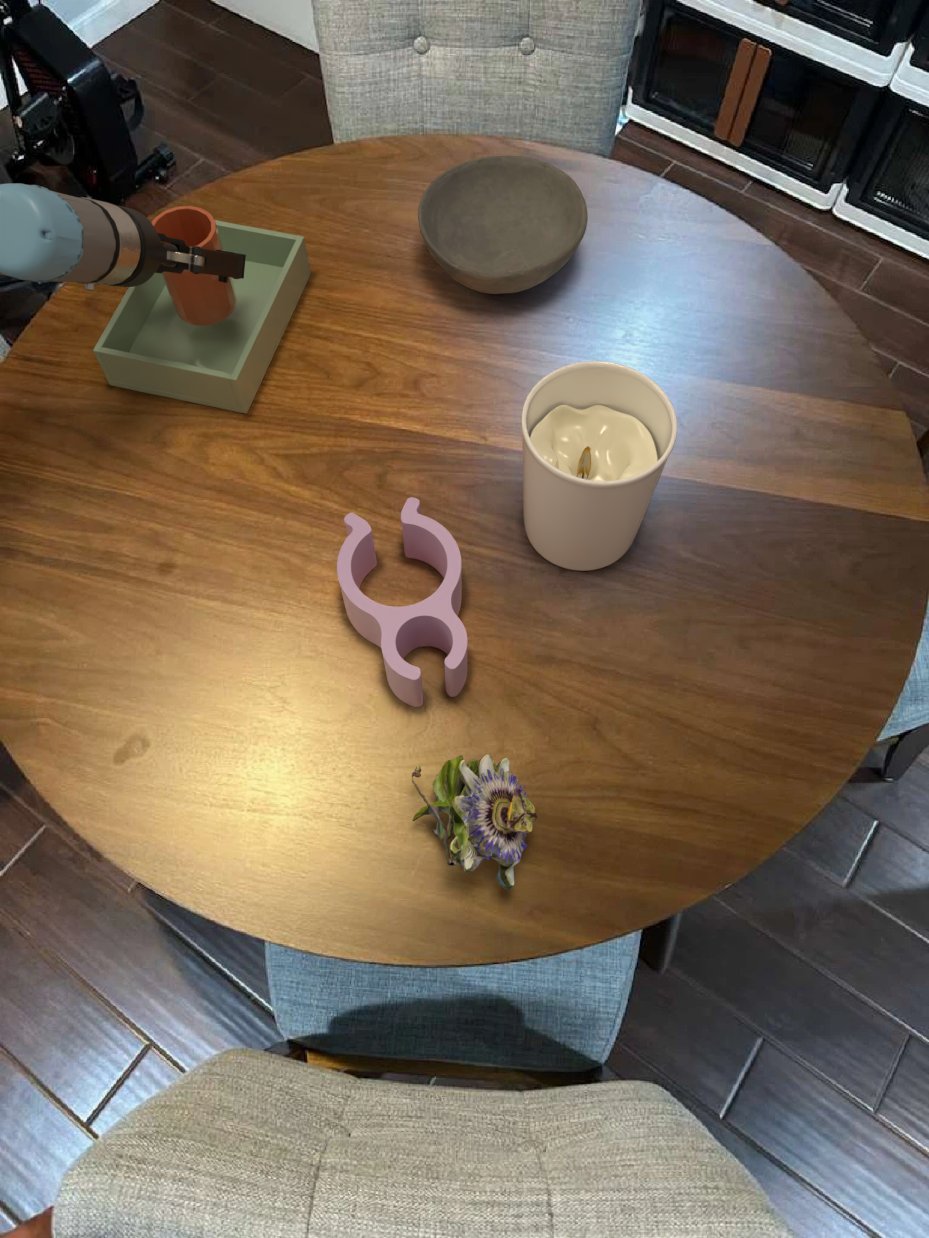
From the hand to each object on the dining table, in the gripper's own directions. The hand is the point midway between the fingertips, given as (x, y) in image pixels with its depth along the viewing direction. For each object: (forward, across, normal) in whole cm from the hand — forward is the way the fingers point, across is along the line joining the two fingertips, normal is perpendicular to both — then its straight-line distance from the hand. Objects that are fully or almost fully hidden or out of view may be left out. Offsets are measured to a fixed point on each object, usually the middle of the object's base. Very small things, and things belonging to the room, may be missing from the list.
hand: (209, 260), depth 115 cm
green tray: (+3, 0, -8) cm, 8 cm away
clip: (-20, +35, -31) cm, 51 cm away
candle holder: (-9, +50, -20) cm, 55 cm away
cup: (0, 0, -5) cm, 5 cm away
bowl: (+17, +32, +6) cm, 37 cm away
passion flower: (-34, +47, -46) cm, 74 cm away
